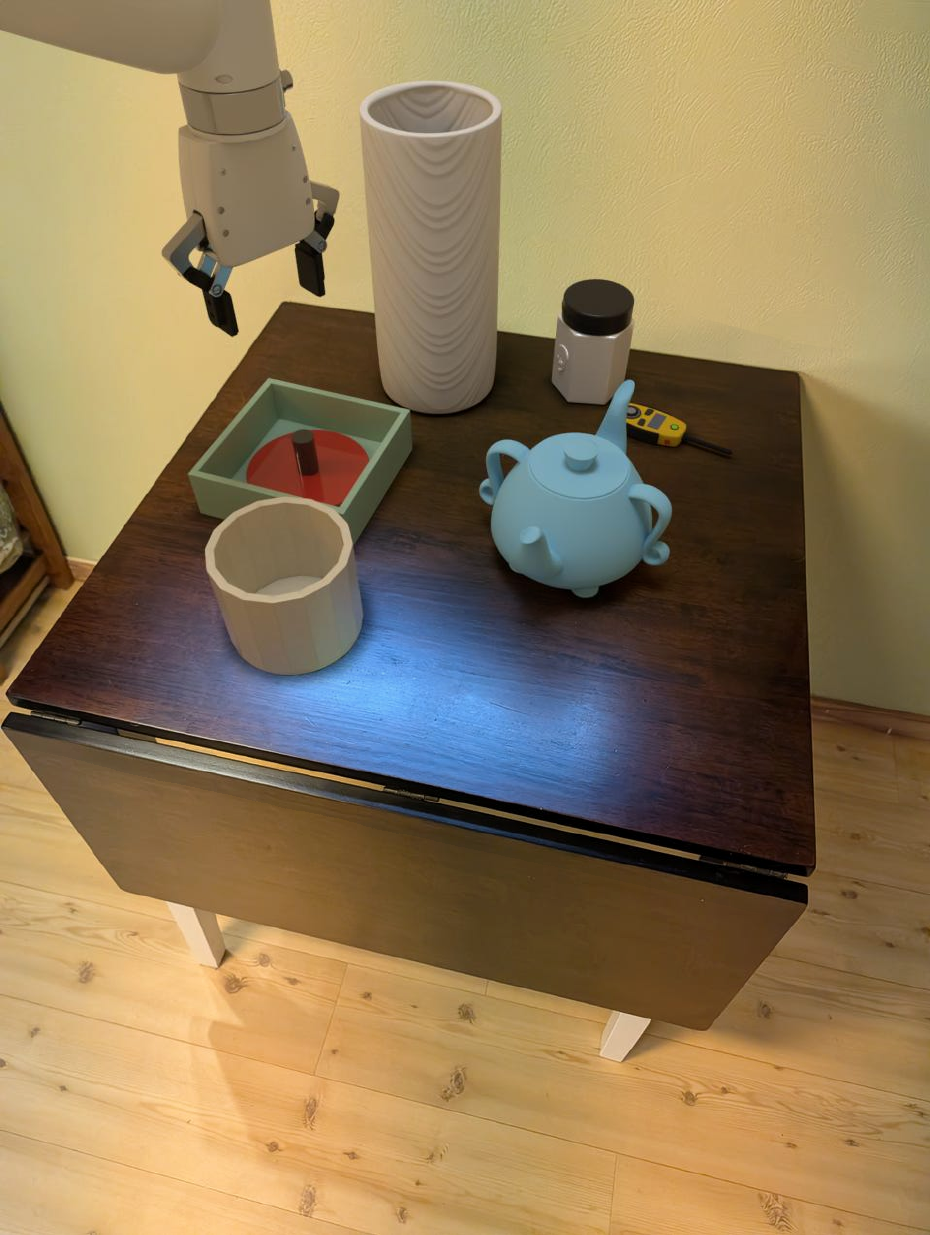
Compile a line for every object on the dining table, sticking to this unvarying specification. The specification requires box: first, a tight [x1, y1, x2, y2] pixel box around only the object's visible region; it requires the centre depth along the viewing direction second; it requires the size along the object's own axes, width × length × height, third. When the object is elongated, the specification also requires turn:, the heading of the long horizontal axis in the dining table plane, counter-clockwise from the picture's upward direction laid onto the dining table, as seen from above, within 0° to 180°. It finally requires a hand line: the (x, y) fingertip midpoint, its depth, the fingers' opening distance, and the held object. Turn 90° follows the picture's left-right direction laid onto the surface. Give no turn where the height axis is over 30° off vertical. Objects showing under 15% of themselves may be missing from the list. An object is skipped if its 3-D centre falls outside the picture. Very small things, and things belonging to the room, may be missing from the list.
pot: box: [204, 496, 364, 676], centre depth 77 cm, size 13×13×10 cm
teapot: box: [478, 379, 673, 599], centre depth 82 cm, size 16×20×14 cm
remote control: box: [626, 402, 734, 456], centre depth 98 cm, size 5×2×15 cm
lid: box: [246, 429, 369, 507], centre depth 92 cm, size 14×14×6 cm
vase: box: [358, 80, 503, 415], centre depth 93 cm, size 14×14×32 cm
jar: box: [551, 278, 635, 406], centre depth 101 cm, size 9×8×12 cm
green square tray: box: [187, 377, 413, 547], centre depth 92 cm, size 18×18×6 cm
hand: (270, 309), depth 77 cm, fingers open, 9 cm apart
